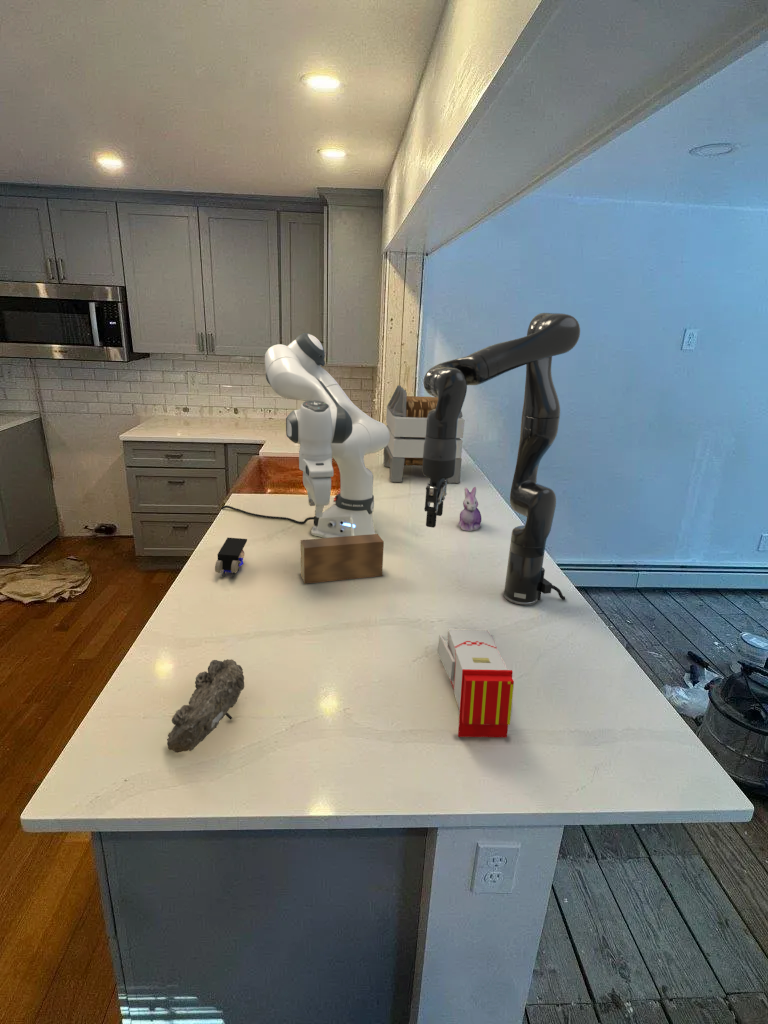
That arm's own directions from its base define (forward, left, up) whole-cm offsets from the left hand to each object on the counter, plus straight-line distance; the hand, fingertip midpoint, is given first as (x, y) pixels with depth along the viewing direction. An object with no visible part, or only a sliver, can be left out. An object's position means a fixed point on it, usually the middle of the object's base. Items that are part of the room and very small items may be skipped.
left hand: (315, 510), depth 158 cm
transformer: (+4, +122, -21) cm, 124 cm away
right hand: (+36, -11, +6) cm, 38 cm away
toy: (+50, -37, -21) cm, 66 cm away
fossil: (+4, -61, -21) cm, 65 cm away
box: (+7, +5, -21) cm, 22 cm away
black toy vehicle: (-25, -4, -21) cm, 33 cm away
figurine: (+37, +59, -21) cm, 72 cm away
